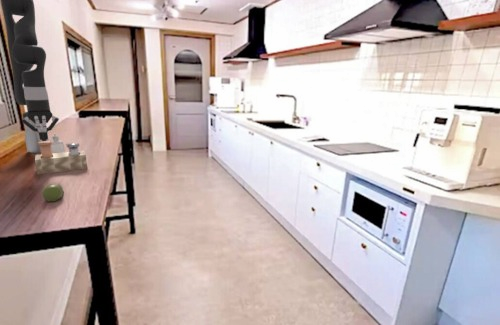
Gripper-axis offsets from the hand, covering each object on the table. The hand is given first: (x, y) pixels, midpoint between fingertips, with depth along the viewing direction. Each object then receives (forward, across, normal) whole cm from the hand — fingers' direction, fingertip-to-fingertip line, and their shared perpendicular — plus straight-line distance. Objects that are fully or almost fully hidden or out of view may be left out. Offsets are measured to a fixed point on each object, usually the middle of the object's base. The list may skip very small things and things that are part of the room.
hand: (44, 140), depth 120 cm
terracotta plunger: (+11, 0, 0) cm, 11 cm away
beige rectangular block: (+13, -5, 0) cm, 14 cm away
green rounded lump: (+13, -2, +35) cm, 37 cm away
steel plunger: (+12, -10, 0) cm, 16 cm away
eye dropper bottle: (+13, -4, -21) cm, 25 cm away
